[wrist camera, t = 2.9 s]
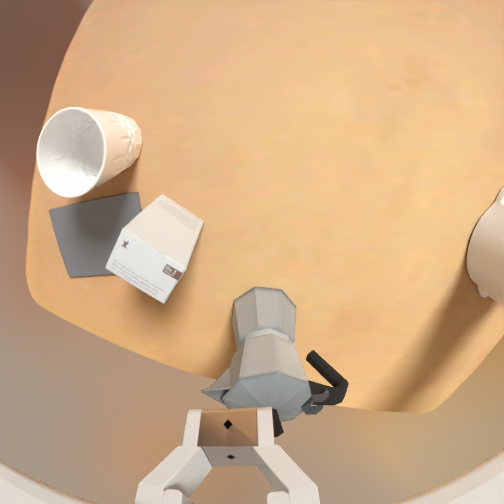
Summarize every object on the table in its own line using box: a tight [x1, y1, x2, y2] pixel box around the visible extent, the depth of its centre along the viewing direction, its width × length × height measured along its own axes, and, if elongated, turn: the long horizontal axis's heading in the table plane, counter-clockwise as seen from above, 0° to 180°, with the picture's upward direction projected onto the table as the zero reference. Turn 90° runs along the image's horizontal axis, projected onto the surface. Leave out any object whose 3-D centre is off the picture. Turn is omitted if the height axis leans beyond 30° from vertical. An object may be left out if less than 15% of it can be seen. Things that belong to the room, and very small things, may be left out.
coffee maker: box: [202, 287, 348, 437], centre depth 30 cm, size 15×9×18 cm, turn 83°
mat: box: [49, 192, 142, 277], centre depth 33 cm, size 14×10×1 cm
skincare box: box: [106, 194, 204, 303], centre depth 27 cm, size 6×4×12 cm
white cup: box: [37, 107, 142, 198], centre depth 24 cm, size 8×8×10 cm
